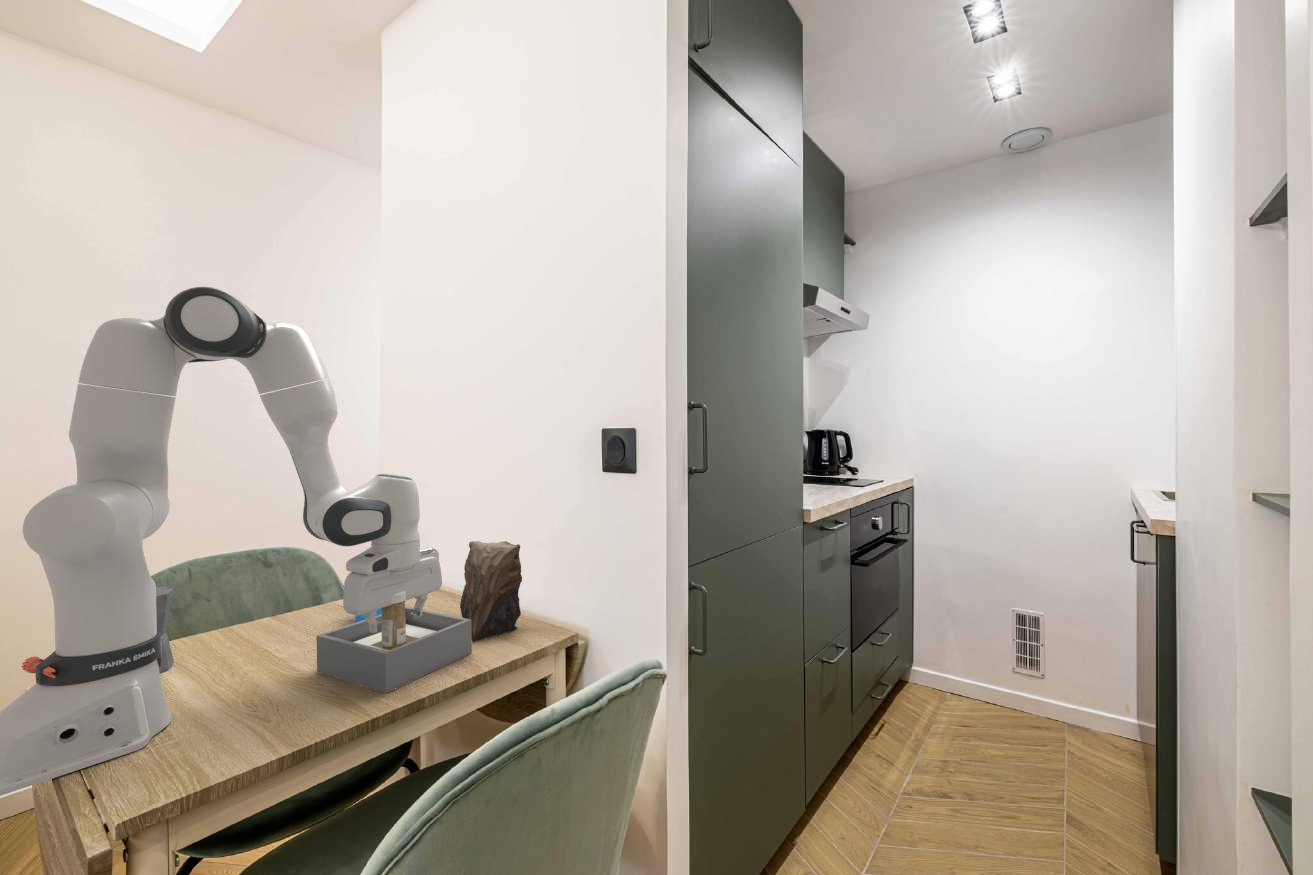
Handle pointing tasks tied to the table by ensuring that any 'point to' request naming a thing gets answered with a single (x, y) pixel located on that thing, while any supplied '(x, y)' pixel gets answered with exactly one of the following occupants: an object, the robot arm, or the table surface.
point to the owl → (491, 588)
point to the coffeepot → (162, 619)
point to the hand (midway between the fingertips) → (396, 624)
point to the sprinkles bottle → (394, 622)
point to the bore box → (393, 650)
